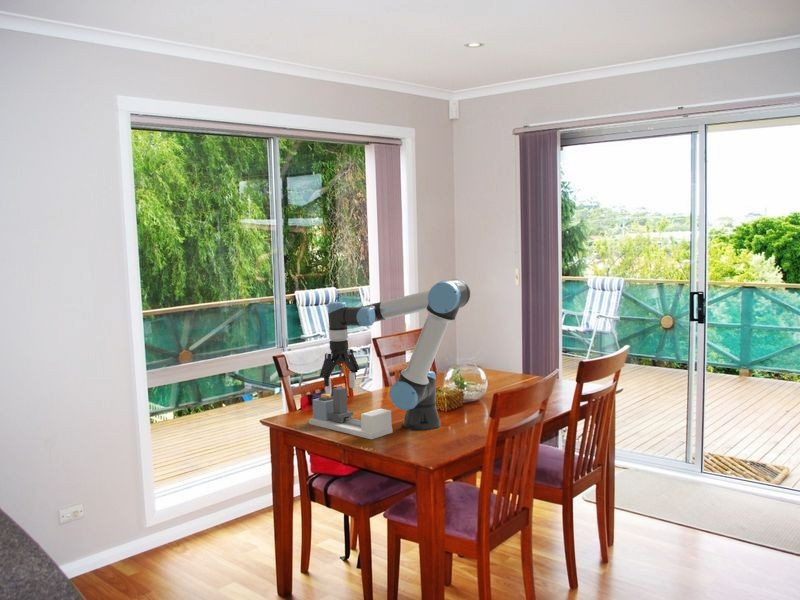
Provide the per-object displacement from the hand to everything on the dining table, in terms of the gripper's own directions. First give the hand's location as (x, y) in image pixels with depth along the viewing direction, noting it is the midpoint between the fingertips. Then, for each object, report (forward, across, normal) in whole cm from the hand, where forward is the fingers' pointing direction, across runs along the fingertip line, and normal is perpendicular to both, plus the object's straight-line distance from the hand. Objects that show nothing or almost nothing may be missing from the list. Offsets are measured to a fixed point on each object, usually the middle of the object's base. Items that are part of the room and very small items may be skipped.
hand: (340, 390), depth 298 cm
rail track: (+15, 0, +5) cm, 16 cm away
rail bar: (+13, 0, +6) cm, 14 cm away
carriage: (+12, 0, -1) cm, 12 cm away
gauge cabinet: (+13, 0, -9) cm, 16 cm away
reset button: (+8, 0, -9) cm, 12 cm away
